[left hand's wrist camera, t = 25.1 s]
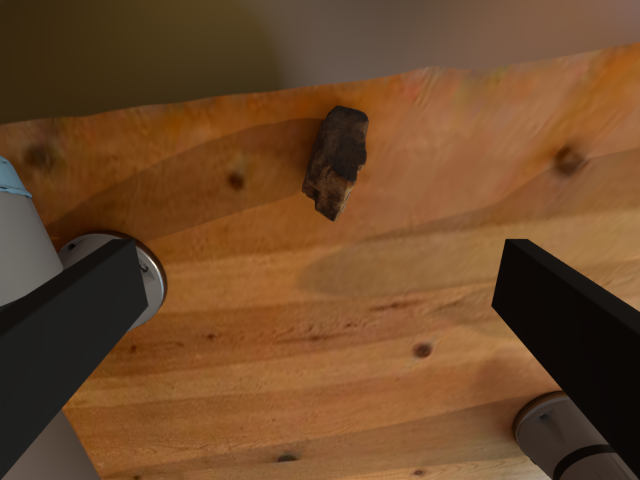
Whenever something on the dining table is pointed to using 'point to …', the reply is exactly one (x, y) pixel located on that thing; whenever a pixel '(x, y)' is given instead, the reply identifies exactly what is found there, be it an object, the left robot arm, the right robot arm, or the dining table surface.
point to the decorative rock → (336, 160)
